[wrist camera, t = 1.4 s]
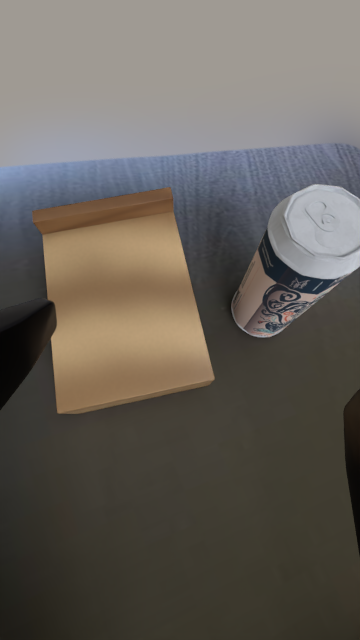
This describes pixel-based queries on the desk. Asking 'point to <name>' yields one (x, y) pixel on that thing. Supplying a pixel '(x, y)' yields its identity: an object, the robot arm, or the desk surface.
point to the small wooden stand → (120, 302)
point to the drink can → (299, 258)
